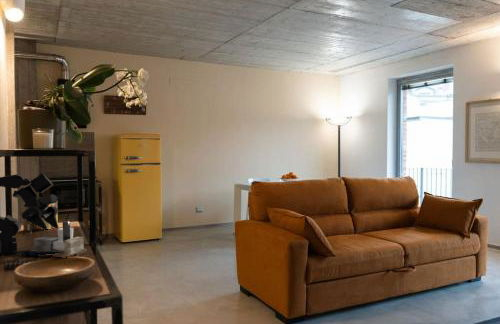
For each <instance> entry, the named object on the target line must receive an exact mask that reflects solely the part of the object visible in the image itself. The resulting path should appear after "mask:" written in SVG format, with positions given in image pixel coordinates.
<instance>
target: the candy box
mask: <svg viewBox="0 0 500 324" xmlns="http://www.w3.org/2000/svg"><path fill="white" fill-rule="evenodd" d="M48 207H56V208H57V209H58V211H57V213H56V220H57V224H58V223H59V222H58V221H59V220H58V218H59V215H58V214H59V208H58V207H59V206H58V200H57V202H56V203H52V204H49V205H48ZM48 207H47V208H48ZM47 208H45V210H46V209H47ZM42 219H43V218H42ZM43 221H44V219H43ZM44 223H45V224H46V227H47V229H51V228H54V227H53V226H51V225H50V224H49V223H47V222H46V221H44ZM58 225H59V224H58ZM42 229H43V228H41V230H42ZM54 229H55V228H54ZM51 230H52V229H51Z"/></svg>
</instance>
